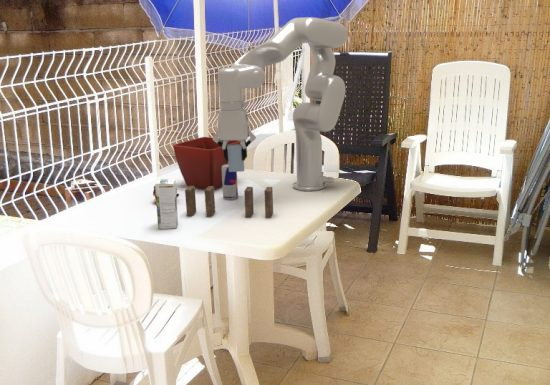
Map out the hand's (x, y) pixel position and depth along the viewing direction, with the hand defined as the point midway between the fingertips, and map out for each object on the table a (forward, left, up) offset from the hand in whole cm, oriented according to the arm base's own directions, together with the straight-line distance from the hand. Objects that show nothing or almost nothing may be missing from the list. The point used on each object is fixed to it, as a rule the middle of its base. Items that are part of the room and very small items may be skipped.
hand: (235, 159), depth 198 cm
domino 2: (+7, +10, -16) cm, 21 cm away
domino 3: (0, 0, -4) cm, 4 cm away
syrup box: (+17, +22, -16) cm, 33 cm away
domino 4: (-6, +10, -16) cm, 20 cm away
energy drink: (+4, -9, -16) cm, 19 cm away
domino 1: (+13, +10, -16) cm, 24 cm away
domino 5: (-13, +10, -16) cm, 23 cm away
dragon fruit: (+26, -3, -16) cm, 31 cm away
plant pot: (+16, -26, -16) cm, 35 cm away
